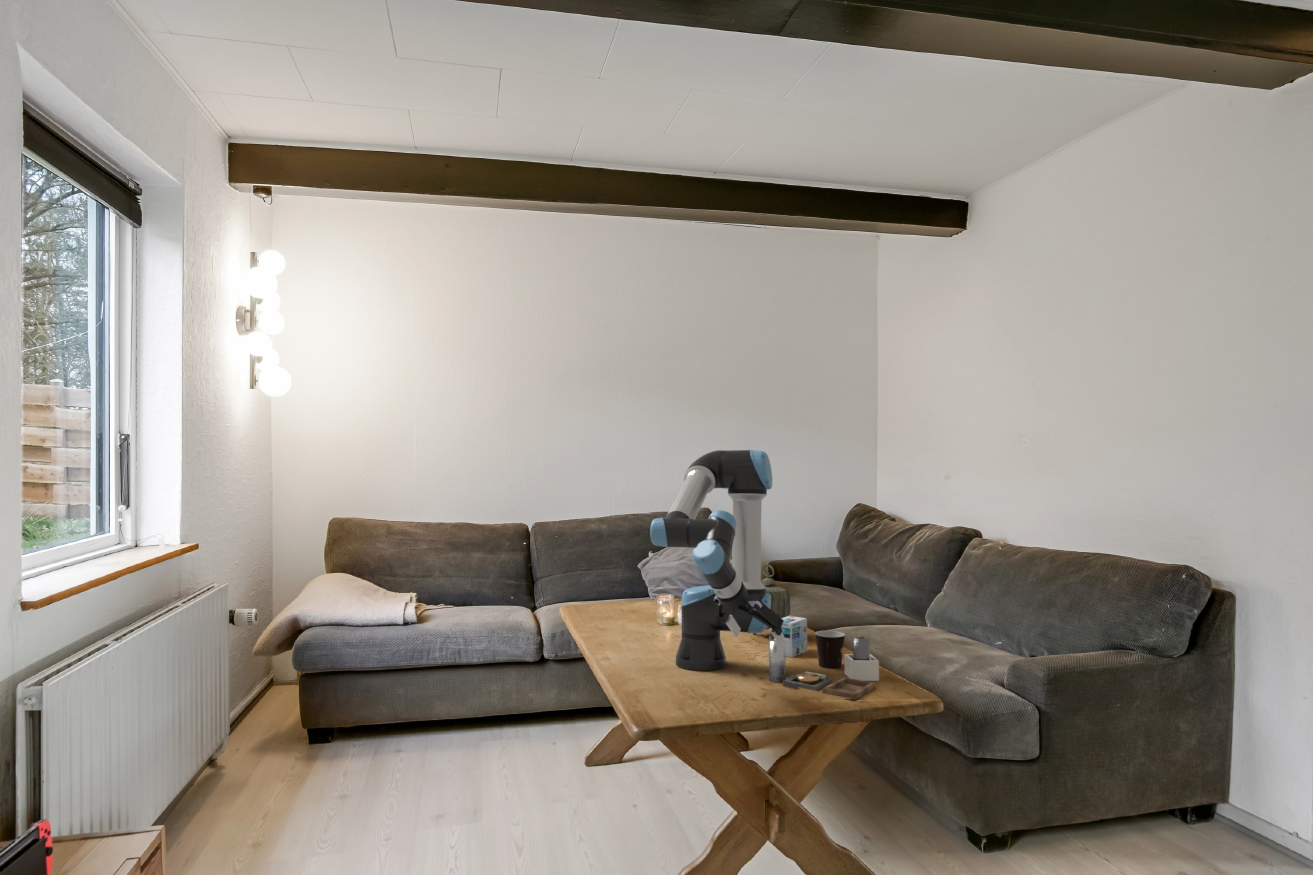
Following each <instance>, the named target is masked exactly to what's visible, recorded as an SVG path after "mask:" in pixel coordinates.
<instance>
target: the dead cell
mask: <svg viewBox="0 0 1313 875" xmlns="http://www.w3.org/2000/svg"><path fill="white" fill-rule="evenodd" d="M870 642H871V640H870V637H869V636H866V635H864V634H858V635H854V636H852V654H853V660H870V654H871V648H870V647H871V645H870V644H871V643H870Z"/></svg>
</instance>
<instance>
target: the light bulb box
mask: <svg viewBox="0 0 1313 875" xmlns="http://www.w3.org/2000/svg"><path fill="white" fill-rule="evenodd" d="M781 619H783V620H784V622H783V624H782V627H781V629H782V633H783V635H784V638H783V640H785V641H786V658H787V657H788V658H794V657H796V656H799V655H801V653H802V654H804V653H807V652H808V618H806V617H799V616H794V615H790V616H787V617H784V618H781ZM773 638H774V637H773ZM774 639H775V638H774ZM806 651H807V652H806Z"/></svg>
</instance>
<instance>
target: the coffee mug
mask: <svg viewBox="0 0 1313 875" xmlns="http://www.w3.org/2000/svg"><path fill="white" fill-rule="evenodd" d="M814 636H815V642H816V651H817V661H818V666H819V668H823V669H828V670H833V669H841V668H842V664H843V663H842V662H843V657H844V656H843V654H844V647H845V646H844V645H845V636H846V634H845V633H843V632H842V631H837V630H836V631H835V630H820V631H819V630H818V631H816V632H815V633H814Z"/></svg>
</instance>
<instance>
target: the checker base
mask: <svg viewBox="0 0 1313 875" xmlns="http://www.w3.org/2000/svg"><path fill="white" fill-rule="evenodd" d="M803 673H814V674H817V675H819V682H818V683H815V684H805V683H800V682H798V681H797V674H794V675H792V676H790V677H788V678H786V680H784V681H783V682H782V687H786V688H790V689H795V690H796V689H797V690H800V688H801V689H806V690H811V691H815V692H816V691H819V690H821V689H823V688H824V687H826V686H828V685H830V684H832V683H834V682H833V681H834V680H833V678H828V677H827V675H826V674H824V673H823V674H821V673H816V672H811V671H805V672H803Z"/></svg>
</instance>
